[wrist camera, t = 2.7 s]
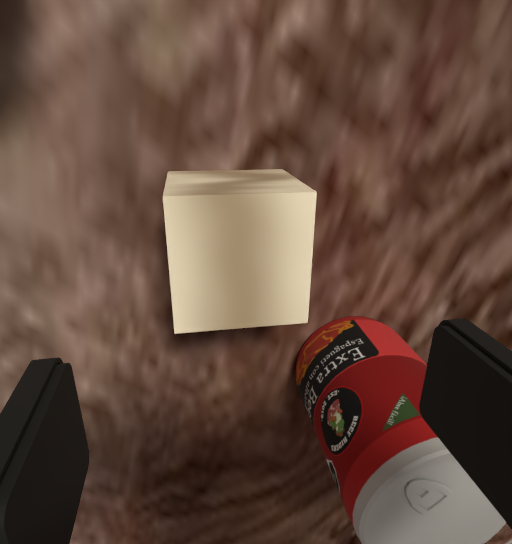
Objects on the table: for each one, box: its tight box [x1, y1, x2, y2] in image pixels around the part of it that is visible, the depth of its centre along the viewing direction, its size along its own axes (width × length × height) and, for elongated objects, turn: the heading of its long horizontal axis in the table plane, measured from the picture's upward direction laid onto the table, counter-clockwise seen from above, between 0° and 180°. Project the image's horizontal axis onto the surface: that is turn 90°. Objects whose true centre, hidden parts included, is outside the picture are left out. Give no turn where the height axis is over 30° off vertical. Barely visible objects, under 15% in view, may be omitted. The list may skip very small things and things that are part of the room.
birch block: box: [163, 169, 317, 334], centre depth 19 cm, size 6×6×6 cm
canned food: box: [296, 316, 506, 544], centre depth 22 cm, size 8×8×11 cm
